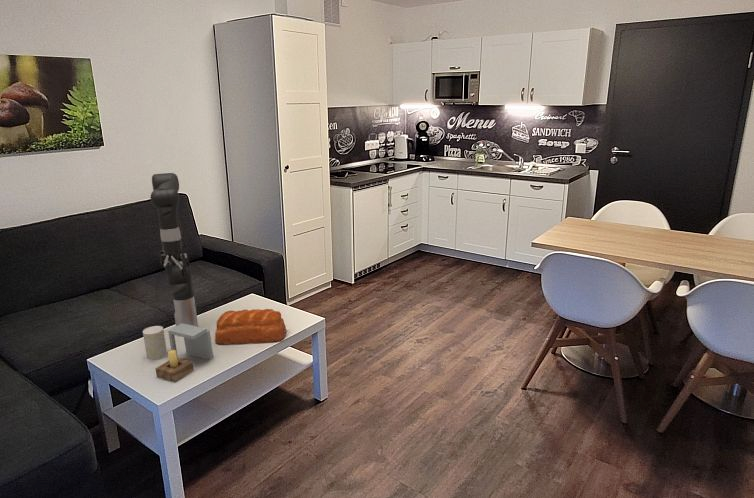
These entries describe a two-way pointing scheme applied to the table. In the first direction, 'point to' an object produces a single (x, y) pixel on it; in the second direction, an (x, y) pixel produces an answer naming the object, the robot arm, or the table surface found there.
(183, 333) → the grey arch-shaped block
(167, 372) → the socket block
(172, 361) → the peg
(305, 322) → the table surface
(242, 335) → the bread
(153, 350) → the cup
